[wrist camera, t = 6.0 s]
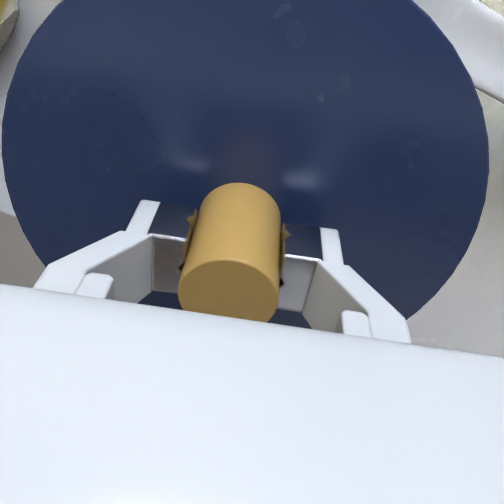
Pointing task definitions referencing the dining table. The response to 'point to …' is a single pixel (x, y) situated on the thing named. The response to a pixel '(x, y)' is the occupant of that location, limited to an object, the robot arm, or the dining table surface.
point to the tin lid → (251, 140)
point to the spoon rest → (473, 39)
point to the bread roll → (7, 19)
